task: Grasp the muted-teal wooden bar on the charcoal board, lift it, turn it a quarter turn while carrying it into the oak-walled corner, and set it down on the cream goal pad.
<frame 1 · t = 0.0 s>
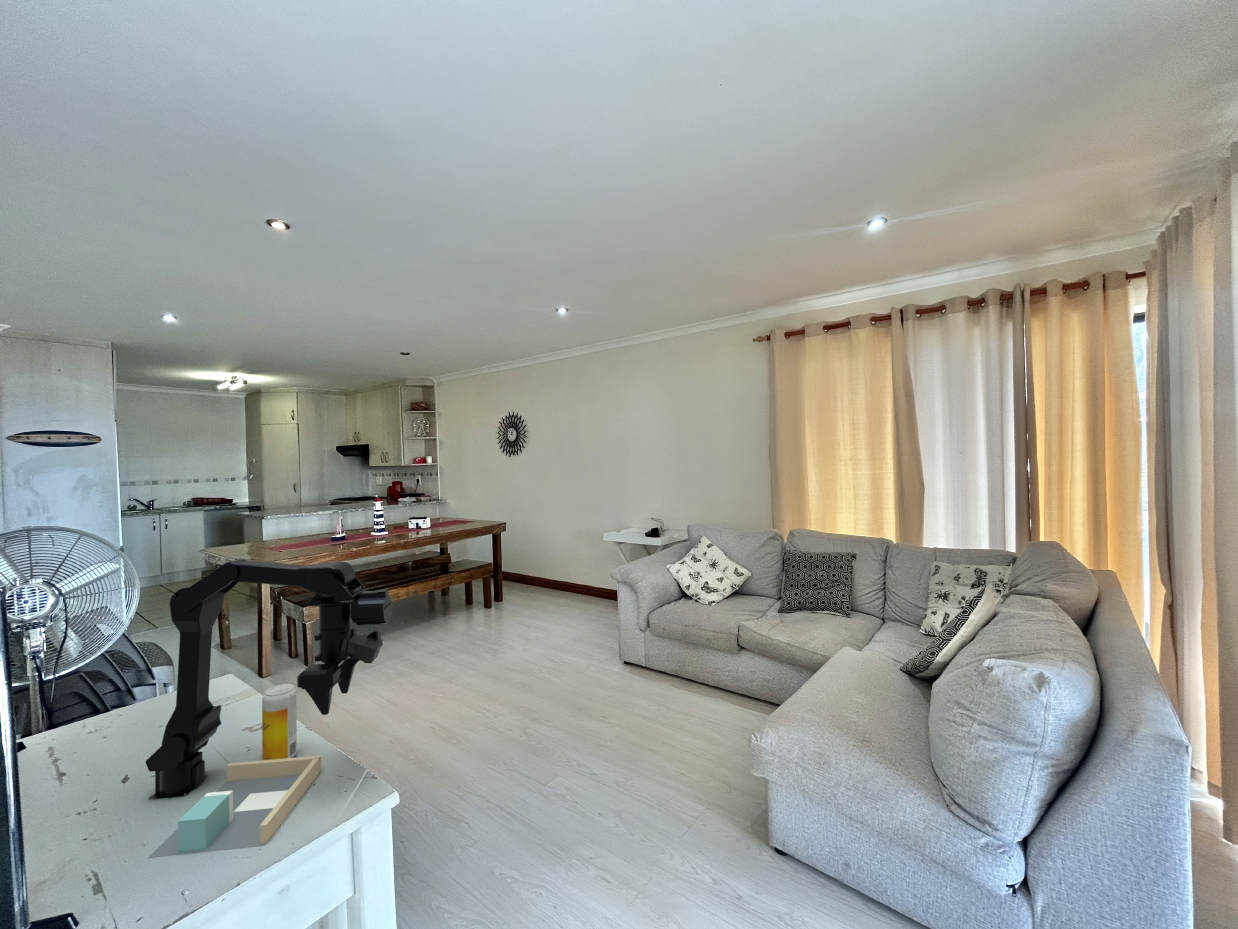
hand: (335, 703, 101), 15 cm above the table, fingers open, 9 cm apart
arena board: (245, 812, 90), on the table
beer can: (279, 760, 106), on the table
teal block: (206, 835, 84), point 1 cm above the table, touching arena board
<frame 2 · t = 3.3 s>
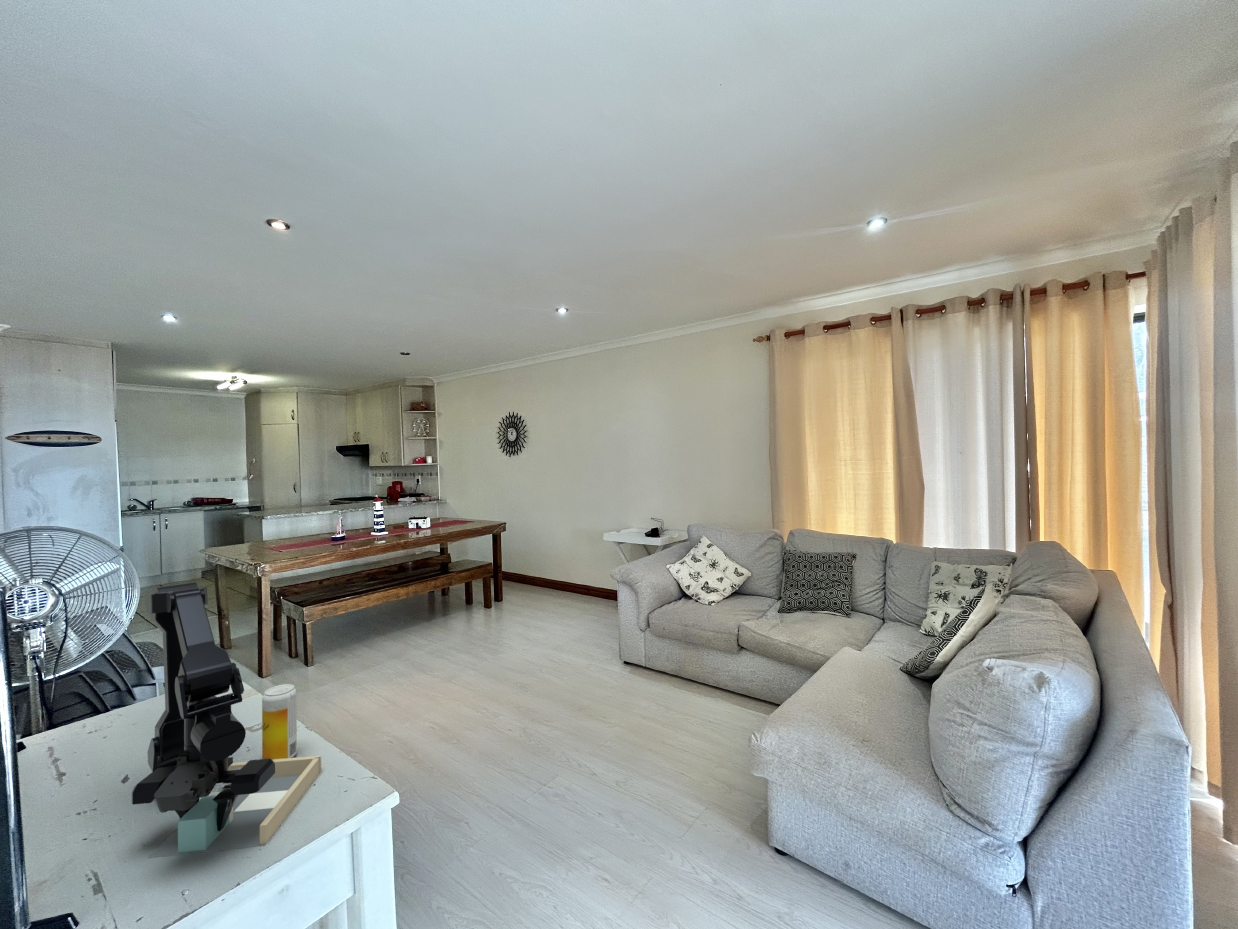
hand: (206, 831, 84), 1 cm above the table, fingers closed on teal block, 4 cm apart
teal block: (206, 835, 84), point 1 cm above the table, touching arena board, gripper
everything else where it was.
when the fingers open (3 cm above the table, at t = 7.3 s): teal block drops 1 cm, resting on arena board.
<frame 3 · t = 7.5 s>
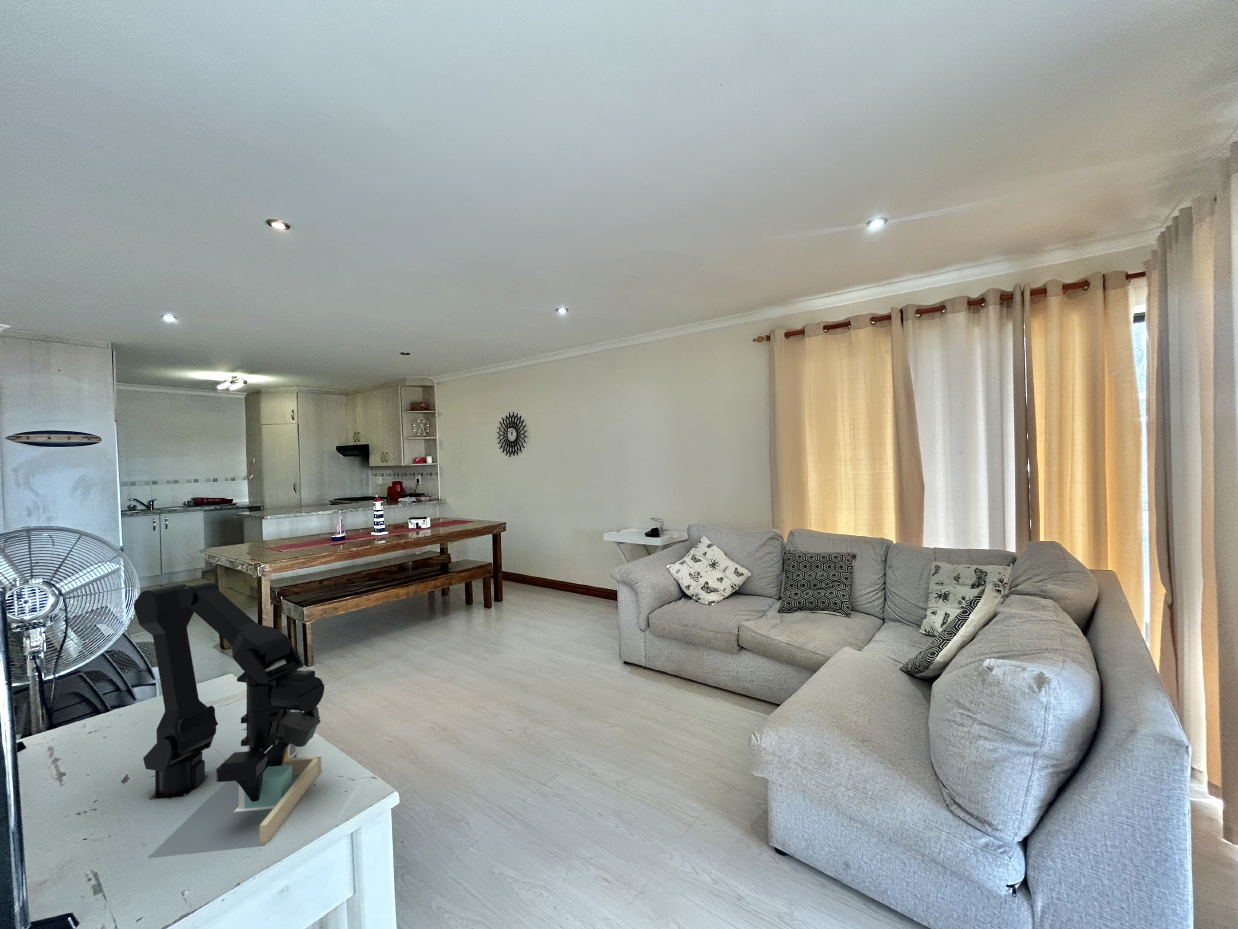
hand: (265, 789, 92), 3 cm above the table, fingers open, 6 cm apart
teal block: (266, 800, 92), point 1 cm above the table, touching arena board
everything else where it was.
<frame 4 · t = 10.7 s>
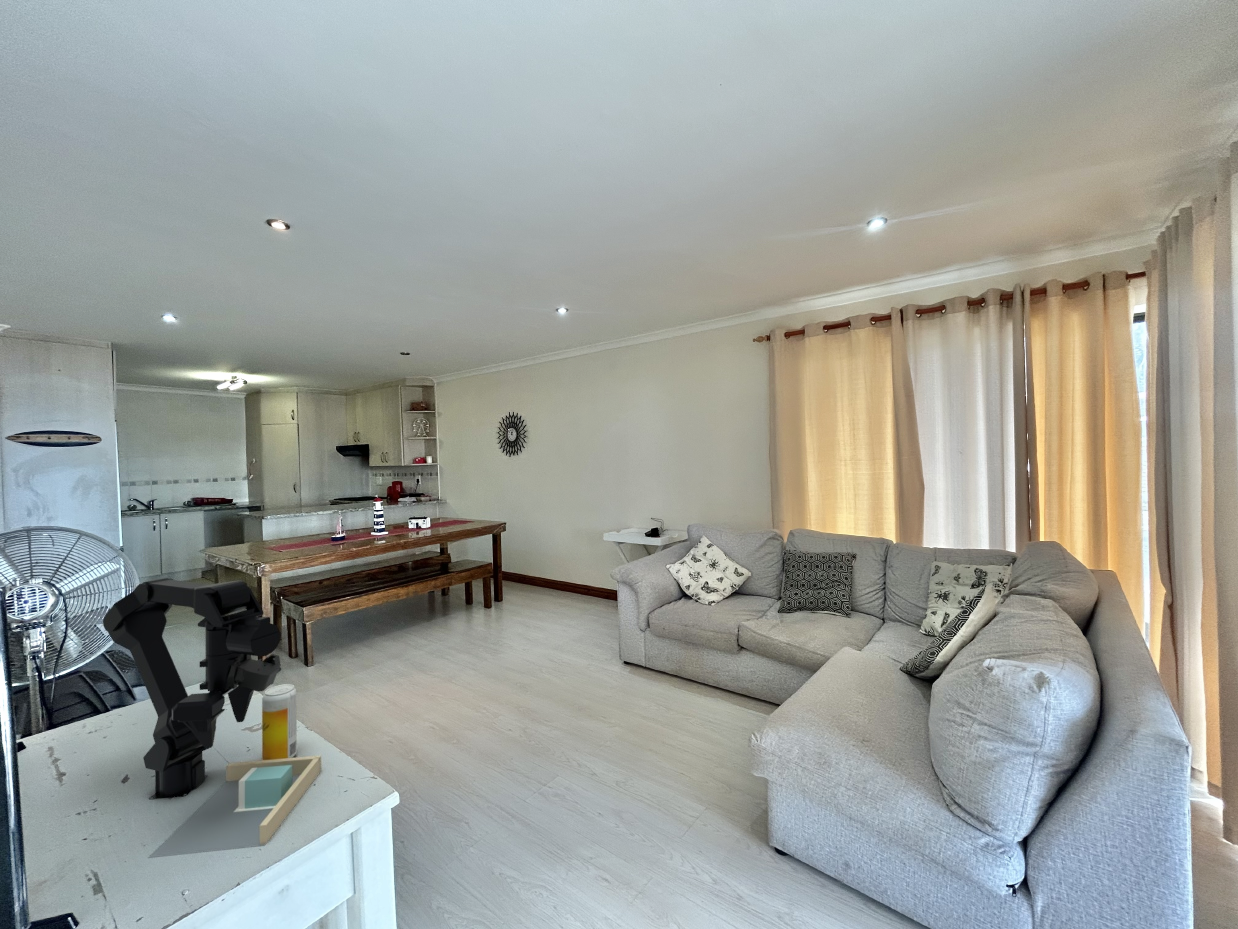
hand: (225, 734, 93), 13 cm above the table, fingers open, 9 cm apart
nothing on the table moved.
at the end: teal block 0.0 cm from the target spot, point 0.7 cm above the table; teal block tilted 0°; the gripper is holding nothing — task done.
